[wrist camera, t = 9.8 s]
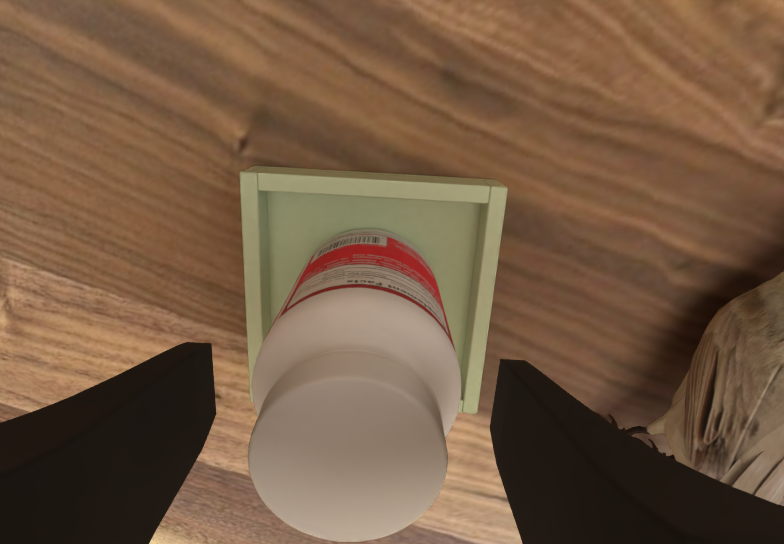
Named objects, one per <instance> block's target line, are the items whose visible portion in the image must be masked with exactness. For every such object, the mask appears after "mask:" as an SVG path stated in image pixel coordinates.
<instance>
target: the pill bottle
mask: <svg viewBox="0 0 784 544" xmlns="http://www.w3.org/2000/svg"><path fill="white" fill-rule="evenodd" d="M252 394H253V402H254V406H255V410H256V413H257V416H258V418H257V421H256V424H255V426H254V429H253V431H252V434H251V438H250V442H249V450H248V462H249V471H250V475H251V479H252V481H253V484H254V486H255V488H256V490H257V492H258V494H259V496H260V498H261V499H262V500H263V502H264V503H265V504H266V506H267V507H268V508H269V509H270V510H271V511H272V512H273V513H274V514H275V515H276V516H277V517H279V518H280V519H281V520H282V521H284V522H285V523H286V524H288V525H290V526H292V527H293V528H295V529H297V530H299V531H301V532H304V533H306V534H308V535H311V536H315V537H318V538H321V539H326V540H331V541H340V542H361V541H367V540H372V539H378V538H381V537H385V536H388V535H390V534H393V533H396V532H398V531H400V530H402V529H404V528H406V527H407V526H408V525H410V524H411V523H413V522H414V521H416V520H417V519H419V518H420V517H421V515H423V514H424V513H425V512H426V511H427V510H428V509H429V508H430V506H431V505H432V504H433V502H434V501H435V499H436V498H437V496H438V494H439V492H440V490H441V488H442V486H443V483H444V480H445V476H446V472H447V461H448V455H447V447H446V441H445V438H446V436H447V435H448V433H449V431H450V429H451V427H452V425H453V423H454V421H455V419H456V415H457V412H458V409H459V405H460V398H461V376H460V369H459V364H458V359H457V355H456V351H455V348H454V344H453V341H452V337H451V333H450V330H449V326H448V322H447V318H446V314H445V311H444V307H443V303H442V300H441V296H440V293H439V289H438V285H437V282H436V279H435V276H434V273H433V271H432V269H431V267H430V265H429V263H428V261H427V260H426V258H425V257H424V256H423V254H422V253H421V252H420V251H419V250H418V249H417V248H416V247H415V246H414V245H412V244H411V243H410V242H408V241H407V240H405V239H403V238H402V237H400V236H398V235H396V234H393V233H390V232H387V231H382V230H377V229H357V230H352V231H348V232H345V233H342V234H339V235H337V236H335V237H333V238H331V239H330V240H328V241H326V242H325V243H324V244H322V245H321V246H320V247H319V248H318V249H317V250H316V251H315V252H314V253H313V254H312V256H311V257H310V258H309V259H308V261H307V263H306V264H305V266H304V267H303V269H302V271H301V273H300V275H299V276H298V278H297V280H296V283H295V284H294V286H293V288H292V290H291V292H290V294H289V295H288V297H287V299H286V301H285V303H284V305H283V306H282V308H281V310H280V312H279V314H278V315H277V317H276V319H275V321H274V322H273V324H272V326H271V328H270V329H269V331H268V333H267V335H266V337H265V339H264V341H263V343H262V346H261V348H260V350H259V353H258V355H257V358H256V362H255V366H254V370H253V379H252Z"/></svg>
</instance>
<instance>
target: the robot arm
mask: <svg viewBox="0 0 784 544" xmlns="http://www.w3.org/2000/svg"><path fill="white" fill-rule="evenodd" d="M215 416H216V403H215V389H214V375H213V361H212V347H211V343H194V342H186V343H183V344H180V345H178V346H175V347H173V348H171V349H169V350H167V351H165V352H163V353H161V354H159V355H157V356H155V357H153V358H151V359H149V360H147V361H145V362H143V363H141V364H139V365H137V366H135V367H133V368H131V369H129V370H127V371H125V372H123V373H121V374H119V375H117V376H115V377H113V378H111V379H108V380H106V381H104V382H102V383H100V384H97V385H95V386H93V387H91V388H89V389H87V390H84V391H82V392H80V393H78V394H76V395H74V396H71V397H69V398H66V399H64V400H62V401H59V402H57V403H54V404H52V405H49V406H47V407H44V408H41V409H39V410H36V411H33V412H30V413H28V414H25V415H22V416H20V417H17V418H14V419H11V420H8V421H5V422H1V423H0V544H149V542H150V540H151V539H152V537H153V535H154V533H155V531H156V529H157V528H158V526H159V524H160V522H161V521H162V519H163V517H164V515H165V514H166V512H167V510H168V508H169V507H170V505H171V503H172V501H173V500H174V498H175V496H176V495H177V493H178V491H179V489H180V488H181V486H182V484H183V482H184V481H185V479H186V477H187V475H188V474H189V472H190V470H191V468H192V467H193V465H194V463H195V461H196V459H197V458H198V456H199V454H200V452H201V450H202V448H203V446H204V444H205V441H206V439H207V436H208V434H209V431H210V429H211V426H212V424H213V421H214V418H215ZM490 432H491V437H492V443H493V449H494V454H495V459H496V464H497V467H498V470H499V473H500V476H501V479H502V483H503V486H504V489H505V492H506V495H507V498H508V501H509V504H510V507H511V510H512V513H513V516H514V519H515V522H516V525H517V528H518V531H519V534H520V537H521V540H522V543H523V544H784V506H781V505H778V504H775V503H773V502H770V501H768V500H765V499H762V498H760V497H757V496H755V495H752V494H750V493H747V492H745V491H742V490H740V489H737V488H735V487H732V486H730V485H728V484H725V483H723V482H721V481H718V480H716V479H714V478H712V477H709V476H707V475H705V474H703V473H701V472H699V471H697V470H694V469H692V468H690V467H688V466H686V465H684V464H682V463H680V462H678V461H676V460H674V459H672V458H670V457H668V456H666V455H664V454H662V453H660V452H658V451H657V450H655V449H653V448H651V447H650V446H648V445H646V444H644V443H643V442H641V441H639V440H637V439H636V438H634V437H632V436H630V435H629V434H627V433H625V432H624V431H622V430H621V429H619V428H617V427H616V426H614V425H613V424H611V423H610V422H608V421H607V420H605V419H604V418H602V417H601V416H599V415H598V414H596V413H595V412H594V411H592V410H591V409H589V408H588V407H587V406H585V405H584V404H582V403H581V402H580V401H578V400H577V399H576V398H574V397H573V396H572V395H570V394H569V393H568V392H566V391H565V390H564V389H562V388H561V387H560V386H559V385H557V384H556V383H555V382H553V381H552V380H551V379H550V378H548V377H547V376H546V375H544V374H543V373H542V372H540V371H539V370H538V369H536V368H535V367H534V366H532V365H531V364H530V363H528V362H526V361H525V360H508V359H500V365H499V371H498V378H497V384H496V391H495V397H494V404H493V410H492V417H491V423H490Z"/></svg>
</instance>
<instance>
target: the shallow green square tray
mask: <svg viewBox="0 0 784 544" xmlns="http://www.w3.org/2000/svg"><path fill="white" fill-rule="evenodd" d="M239 174H240V196H241V217H242V238H243V260H244V281H245V302H246V324H247V345H248V366H249V388H250V402H252V403H254V402H253V394H252V379H253V370H254V366H255V362H256V358H257V355H258V353H259V350H260V348H261V346H262V343H263V341H264V339H265V337H266V335H267V333H268V331H269V329H270V328H271V326H272V324H273V322H274V321H275V319H276V317H277V315H278V314H279V312H280V310H281V308H282V306H283V305H284V303H285V301H286V299H287V297H288V295H289V294H290V292H291V290H292V288H293V286H294V284H295V283H296V280H297V278H298V276H299V275H300V273H301V271H302V269H303V267H304V266H305V264H306V263H307V261H308V259H309V258H310V257H311V256H312V254H313V253H314V252H315V251H316V250H317V249H318V248H319V247H320V246H321V245H322V244H324V243H325V242H326V241H328V240H330V239H331V238H333V237H335V236H337V235H339V234H342V233H345V232H348V231H352V230H357V229H377V230H382V231H387V232H390V233H393V234H396V235H398V236H400V237H402V238H403V239H405V240H407V241H408V242H410V243H411V244H412V245H414V246H415V247H416V248H417V249H418V250H419V251H420V252H421V253H422V254H423V256H424V257H425V258H426V260H427V261H428V263H429V265H430V267H431V269H432V271H433V273H434V276H435V279H436V282H437V285H438V289H439V293H440V296H441V300H442V303H443V307H444V311H445V314H446V318H447V322H448V326H449V330H450V333H451V337H452V341H453V344H454V348H455V351H456V355H457V359H458V364H459V369H460V376H461V398H460V405H459V409H458V412H457V413H461V412H463V413H475V414H476V413H477V410H478V402H479V395H480V388H481V381H482V373H483V366H484V359H485V351H486V344H487V337H488V329H489V322H490V315H491V307H492V300H493V293H494V285H495V278H496V271H497V264H498V256H499V249H500V242H501V234H502V227H503V220H504V212H505V205H506V198H507V190H508V188H507V187H506V186H504V185H503V184H502V183H500V182H499V181H497V180H494V179H477V178H459V177H442V176H425V175H408V174H391V173H374V172H356V171H339V170H322V169H305V168H288V167H271V166H253V167H251V168H248V169H246V170H243V171H241V172H240V173H239Z"/></svg>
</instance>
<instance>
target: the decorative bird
mask: <svg viewBox="0 0 784 544" xmlns="http://www.w3.org/2000/svg"><path fill="white" fill-rule="evenodd" d="M595 413H596V412H595ZM596 414H598V413H596ZM598 415H599V416H601V415H600V414H598ZM609 416H610V418H611V419H612V424H613V425H614V426H616V427H617V428H618V426H617V423H616V421H615V420H614V418H613V417H612V416H611V415H609ZM601 417H602V416H601ZM602 418H603V417H602ZM604 419H605V418H604ZM605 420H606V419H605ZM622 431H624V432H625V433H627V434H629V435H630V436H631V435H633V434H635V433H645V434H654V435H655V434H661V433H662V434H665V436H666V438H667V440H668V443H669V445H670V448H671V450H672V452H673V455H671V456H669V457H670V458H672V459H674V460H676V461H678V462H680V463H682V464H684V465H686V466H688V467H690V468H692V469H694V470H697V471H699V472H701V473H703V474H705V475H707V476H709V477H712V478H714V479H716V480H718V481H721V482H723V483H725V484H728V485H730V486H732V487H735V488H737V489H740V490H742V491H745V492H747V493H750V494H752V495H755V496H757V497H760V498H762V499H765V500H768V501H770V502H773V503H775V504H779V503H780V501H781V500H782V498H783V497H784V271H783V272H781V273H780V274H779V275H777V276H776V277H775V278H773V279H771V280H769V281H767V282H765V283H763V284H761V285H760V286H758V287H756V288H754V289H752V290H750V291H748V292H746V293H744V294H742V295H740V296H738V297H736V298H734V299H733V300H731V301H730V302H728V303H727V304H725V305H724V306H723V307H721V308H720V309H719V310H718V311H717V313H716V314H715V316H714V317H713V318H712V320H711V321H710V322H709V324H708V326H707V328H706V330H705V332H704V334H703V336H702V338H701V340H700V343H699V345H698V347H697V349H696V351H695V353H694V355H693V358H692V361H691V365H690V369H689V371H688V373H687V374H686V376H685V378H684V380H683V382H682V383H681V385H680V387H679V388H678V390H677V391H676V393H675V395H674V397H673V399H672V405H671V407H670V409H669V410H668V411H667V412H666V413H665V414H664V415H663V416H661V417H660V418H659V419H657V420H655V421H654V422H652V423H651V424H649V425H648V426H647V427H641V426H637V427H632V428H630V429H628V430H625V428H623V429H622ZM635 438H636V437H635ZM636 439H637V440H639V441H641V442H643V441H642V440H640V439H638V438H636ZM648 440H649V441H650V442H651V443H652V445H653V449H655V450H657V451H658V448H657V447H656V445H655V444H654V443H653V441H651V440H650V439H648ZM643 443H644V442H643ZM644 444H645V443H644ZM646 445H647V444H646ZM658 452H659V451H658ZM663 454H664V455H666V454H665V453H664V452H663Z"/></svg>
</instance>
